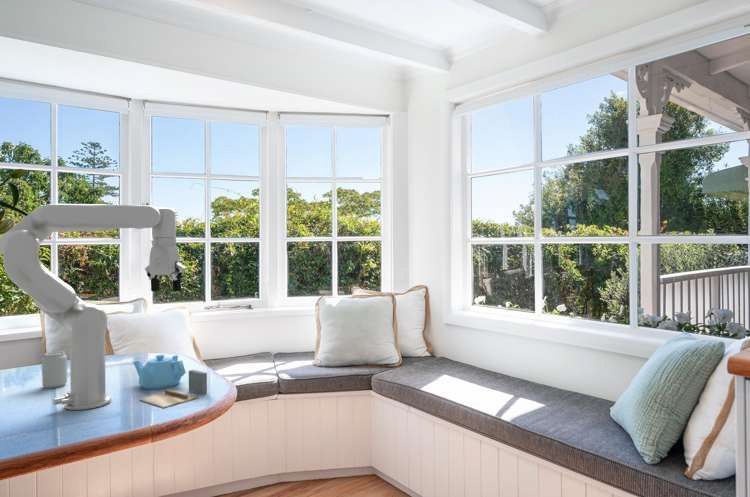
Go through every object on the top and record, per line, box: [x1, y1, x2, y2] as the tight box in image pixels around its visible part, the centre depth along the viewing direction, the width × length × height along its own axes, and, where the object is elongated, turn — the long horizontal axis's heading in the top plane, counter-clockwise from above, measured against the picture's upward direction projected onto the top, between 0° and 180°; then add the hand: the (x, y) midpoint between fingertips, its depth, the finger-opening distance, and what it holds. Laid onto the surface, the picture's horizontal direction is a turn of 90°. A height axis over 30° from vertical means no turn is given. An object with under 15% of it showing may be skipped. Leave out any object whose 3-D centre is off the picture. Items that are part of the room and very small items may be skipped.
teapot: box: [133, 354, 186, 390], centre depth 173 cm, size 15×15×11 cm
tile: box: [188, 369, 208, 396], centre depth 164 cm, size 2×8×7 cm, turn 54°
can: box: [41, 350, 68, 389], centre depth 174 cm, size 8×8×12 cm
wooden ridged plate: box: [139, 388, 199, 409], centre depth 156 cm, size 12×14×2 cm
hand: (165, 291), depth 171 cm, fingers open, 9 cm apart
